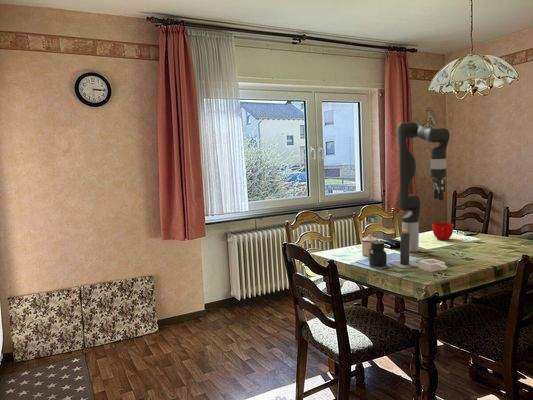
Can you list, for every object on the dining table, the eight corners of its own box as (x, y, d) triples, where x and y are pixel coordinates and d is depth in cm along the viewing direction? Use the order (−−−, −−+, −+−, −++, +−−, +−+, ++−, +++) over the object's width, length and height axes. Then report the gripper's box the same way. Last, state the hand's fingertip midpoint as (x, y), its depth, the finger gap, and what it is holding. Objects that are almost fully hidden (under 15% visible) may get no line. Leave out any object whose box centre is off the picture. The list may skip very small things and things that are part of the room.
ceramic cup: (431, 242, 268) (431, 226, 267) (432, 237, 284) (432, 222, 283) (453, 242, 263) (453, 227, 262) (453, 237, 279) (453, 222, 278)
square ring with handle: (418, 267, 209) (418, 260, 209) (432, 265, 212) (432, 258, 211) (438, 274, 195) (438, 267, 195) (454, 272, 198) (454, 265, 197)
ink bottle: (385, 262, 222) (385, 240, 221) (389, 266, 213) (389, 243, 212) (367, 263, 222) (366, 240, 221) (370, 267, 214) (369, 244, 212)
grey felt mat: (387, 263, 219) (387, 262, 219) (407, 260, 223) (407, 260, 223) (401, 268, 208) (401, 267, 208) (421, 266, 212) (421, 265, 212)
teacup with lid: (370, 257, 234) (369, 236, 233) (358, 254, 242) (358, 234, 241) (385, 254, 241) (384, 234, 240) (373, 251, 248) (372, 232, 247)
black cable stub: (398, 263, 217) (398, 229, 215) (405, 262, 218) (405, 229, 216) (403, 265, 213) (403, 231, 211) (411, 264, 214) (411, 230, 212)
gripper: (427, 167, 220) (427, 198, 221) (434, 168, 206) (434, 201, 207) (442, 167, 219) (442, 198, 220) (450, 168, 205) (450, 200, 206)
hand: (438, 199), depth 214 cm, fingers open, 8 cm apart
